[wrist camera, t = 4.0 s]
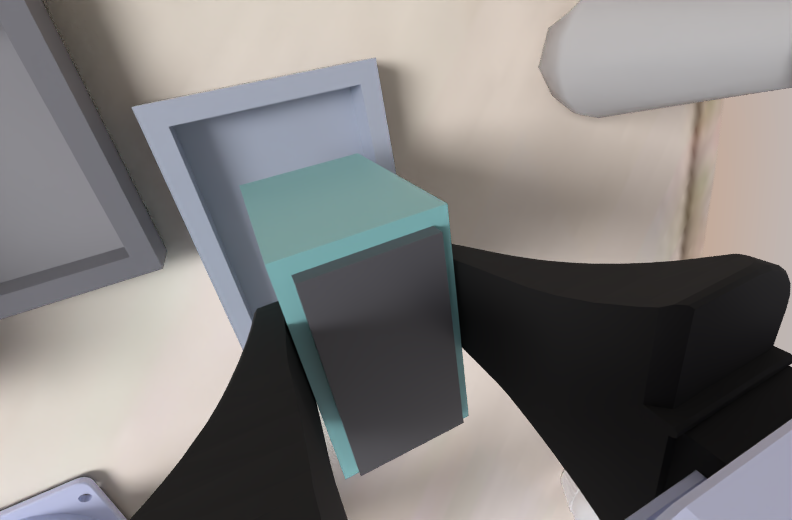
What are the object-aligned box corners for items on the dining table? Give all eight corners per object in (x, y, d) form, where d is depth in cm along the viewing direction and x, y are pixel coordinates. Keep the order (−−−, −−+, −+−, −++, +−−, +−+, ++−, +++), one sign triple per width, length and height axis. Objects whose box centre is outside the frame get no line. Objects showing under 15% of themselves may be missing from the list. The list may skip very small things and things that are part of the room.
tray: (402, 287, 22) (419, 304, 21) (249, 347, 20) (253, 372, 18) (358, 60, 17) (375, 57, 15) (140, 104, 15) (131, 106, 13)
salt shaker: (552, 136, 23) (873, 184, 12) (507, 49, 20) (885, 6, 9) (622, 62, 23) (1006, 42, 12) (588, -37, 20) (1065, -187, 9)
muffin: (573, 495, 41) (635, 564, 35) (537, 494, 38) (598, 570, 32) (606, 447, 40) (675, 510, 34) (572, 443, 37) (641, 511, 31)
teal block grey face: (357, 153, 14) (457, 209, 8) (390, 314, 17) (475, 425, 12) (239, 185, 12) (267, 273, 7) (300, 351, 16) (350, 492, 11)
